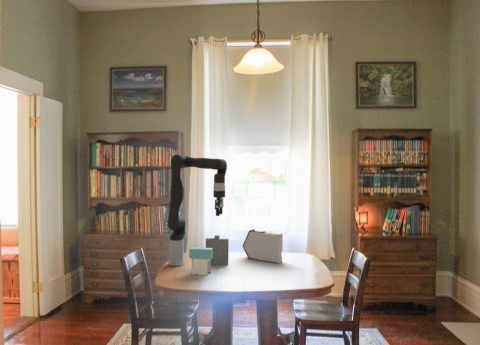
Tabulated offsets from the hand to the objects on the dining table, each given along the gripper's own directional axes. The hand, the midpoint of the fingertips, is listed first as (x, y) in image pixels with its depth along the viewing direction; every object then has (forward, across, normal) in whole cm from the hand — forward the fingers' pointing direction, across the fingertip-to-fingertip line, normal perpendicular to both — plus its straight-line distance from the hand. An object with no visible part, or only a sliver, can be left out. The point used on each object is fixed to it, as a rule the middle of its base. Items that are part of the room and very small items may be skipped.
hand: (219, 215), depth 225 cm
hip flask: (+36, -16, -5) cm, 40 cm away
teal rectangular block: (+27, +6, -10) cm, 29 cm away
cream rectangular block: (+36, +6, -10) cm, 38 cm away
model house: (+36, -36, +25) cm, 57 cm away
